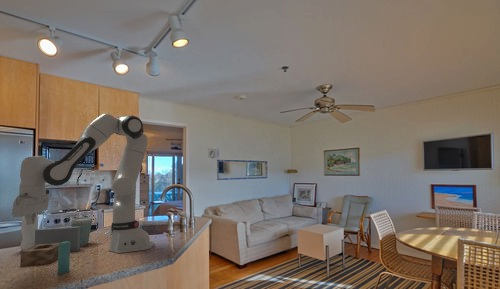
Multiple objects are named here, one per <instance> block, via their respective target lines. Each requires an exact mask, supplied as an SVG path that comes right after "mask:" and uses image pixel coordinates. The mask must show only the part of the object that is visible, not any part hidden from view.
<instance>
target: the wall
mask: <svg viewBox="0 0 500 289" xmlns="http://www.w3.org/2000/svg"><path fill="white" fill-rule="evenodd" d="M80 228H81V226H78V227H72V226H66V227H65V226H63V227H47V228H38V229H37V230H35V245H36V244H50V243H60V242H65V241H70V252H75V251H76V252H77V251H79V250H80V249H81V246H80Z"/></svg>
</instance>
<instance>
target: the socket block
mask: <svg viewBox="0 0 500 289" xmlns="http://www.w3.org/2000/svg"><path fill="white" fill-rule="evenodd" d="M58 248H59V243H50V244H36V245H34V246H32V247H30V248H28V249H26V250H24V251H20V263H19V264H20V267H21V266H31V265H32V266H33V265H43V264H44V265H46V264H51V263H53V262H54V261H56V260H58Z"/></svg>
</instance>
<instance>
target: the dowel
mask: <svg viewBox="0 0 500 289" xmlns="http://www.w3.org/2000/svg"><path fill="white" fill-rule="evenodd" d="M70 256H71V251H70V241H65V242H60V243H59V248H58V259H57V274H58V275H64V274H67V273H69V271H70V260H71V258H70Z"/></svg>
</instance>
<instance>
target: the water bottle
mask: <svg viewBox="0 0 500 289" xmlns="http://www.w3.org/2000/svg"><path fill="white" fill-rule="evenodd" d="M20 228H21V229H20V232H21V236H22V237H21V243H20V246H19V249H20V252H22V251H24V250H26V249H28V248H30V247H32V246H34V245H35V230H37V229H39V215H38V214H37V217H36V219H35V223H34V224H31V225H27V224H26V219H25V216H23V217H21V227H20Z"/></svg>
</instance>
